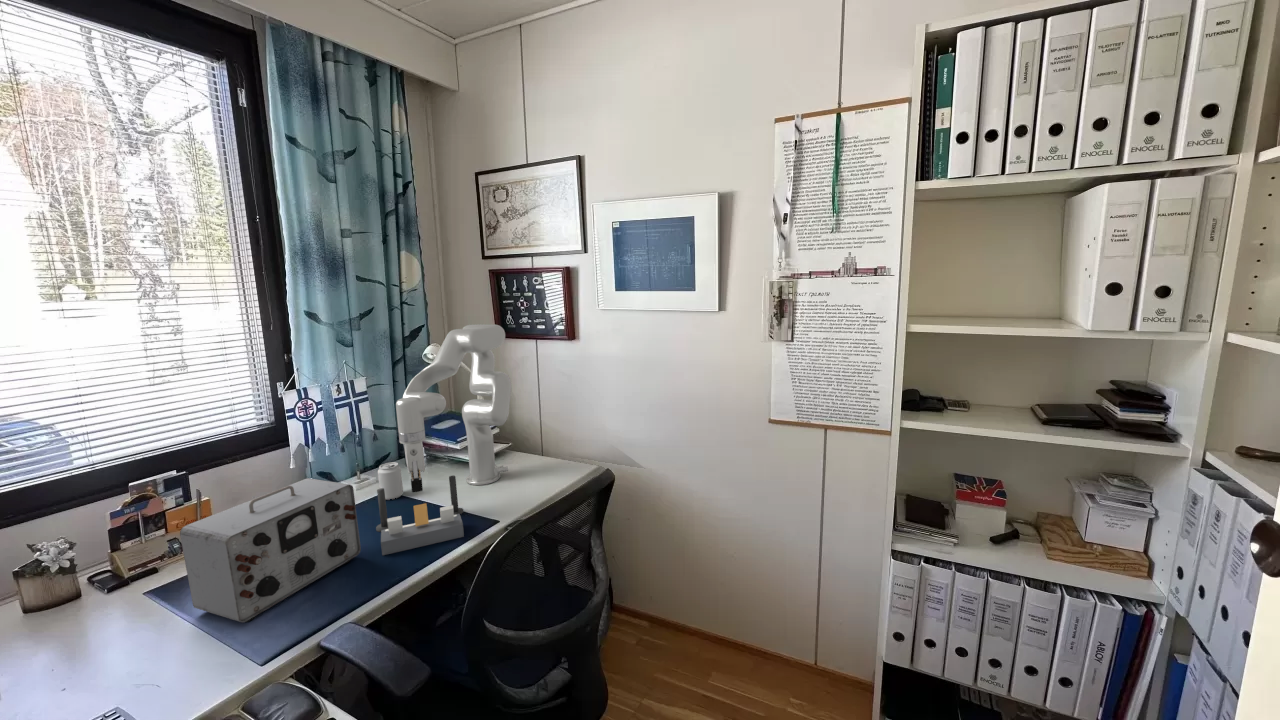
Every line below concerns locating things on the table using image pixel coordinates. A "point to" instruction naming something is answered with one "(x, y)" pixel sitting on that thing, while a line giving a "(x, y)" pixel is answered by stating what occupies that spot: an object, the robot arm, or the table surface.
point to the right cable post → (454, 495)
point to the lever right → (447, 514)
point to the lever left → (395, 525)
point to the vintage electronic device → (269, 547)
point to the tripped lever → (421, 514)
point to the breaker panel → (421, 535)
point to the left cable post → (382, 510)
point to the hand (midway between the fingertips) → (417, 490)
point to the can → (390, 480)
